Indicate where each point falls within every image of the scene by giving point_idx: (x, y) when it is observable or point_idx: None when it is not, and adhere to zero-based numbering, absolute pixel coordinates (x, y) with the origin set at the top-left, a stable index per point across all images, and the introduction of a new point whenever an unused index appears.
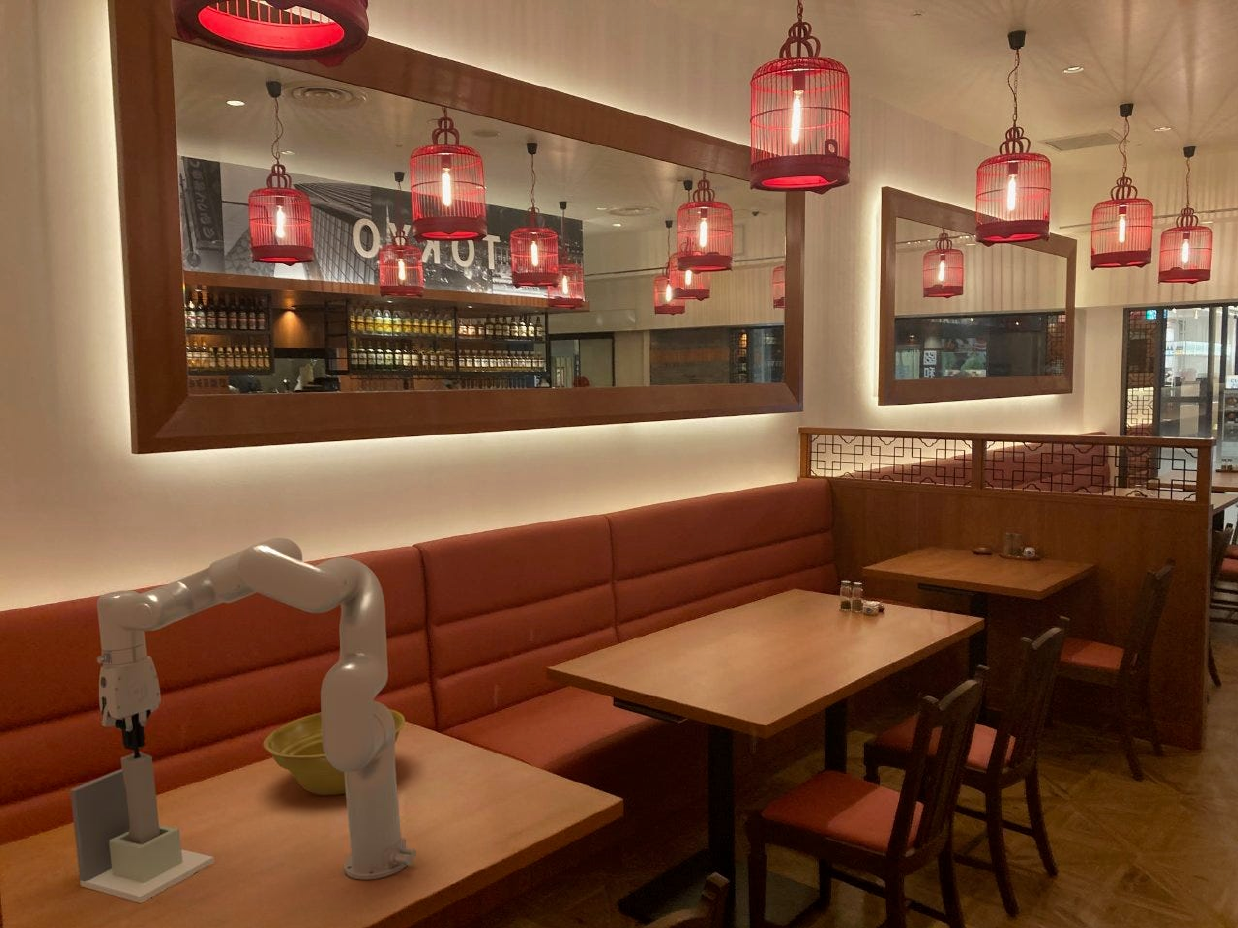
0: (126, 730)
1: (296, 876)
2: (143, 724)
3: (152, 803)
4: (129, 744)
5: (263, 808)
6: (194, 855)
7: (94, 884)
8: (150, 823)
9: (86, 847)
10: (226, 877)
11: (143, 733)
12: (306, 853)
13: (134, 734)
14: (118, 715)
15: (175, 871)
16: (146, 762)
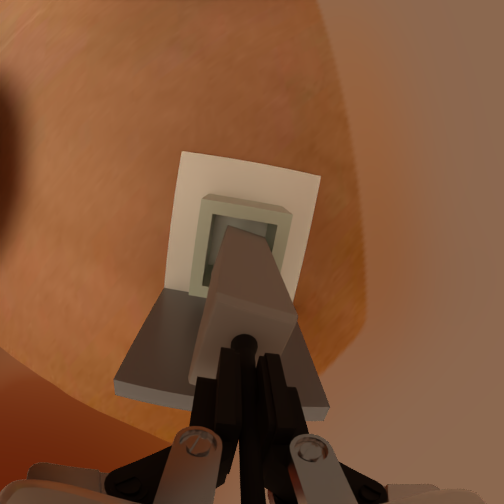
0: (319, 446)
1: (206, 2)
2: (195, 436)
3: (236, 245)
4: (290, 388)
5: (28, 221)
6: (183, 191)
7: (296, 286)
8: (245, 237)
9: (293, 331)
10: (224, 94)
11: (219, 389)
12: (138, 33)
13: (284, 405)
14: (478, 498)
15: (238, 180)
16: (241, 293)
